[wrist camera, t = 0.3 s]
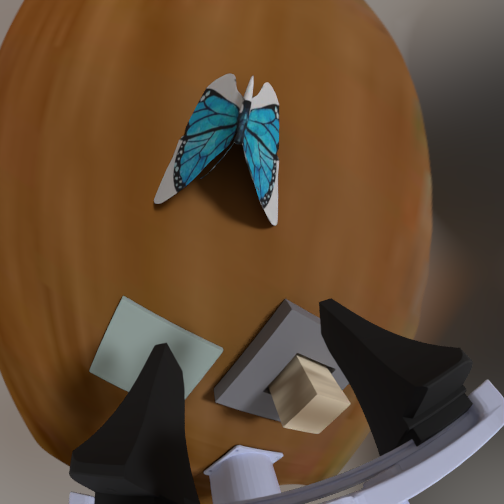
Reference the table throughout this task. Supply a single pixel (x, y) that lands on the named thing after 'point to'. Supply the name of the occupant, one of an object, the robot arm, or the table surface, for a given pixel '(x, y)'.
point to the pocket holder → (274, 360)
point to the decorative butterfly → (230, 139)
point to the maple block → (307, 395)
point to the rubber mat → (149, 347)
